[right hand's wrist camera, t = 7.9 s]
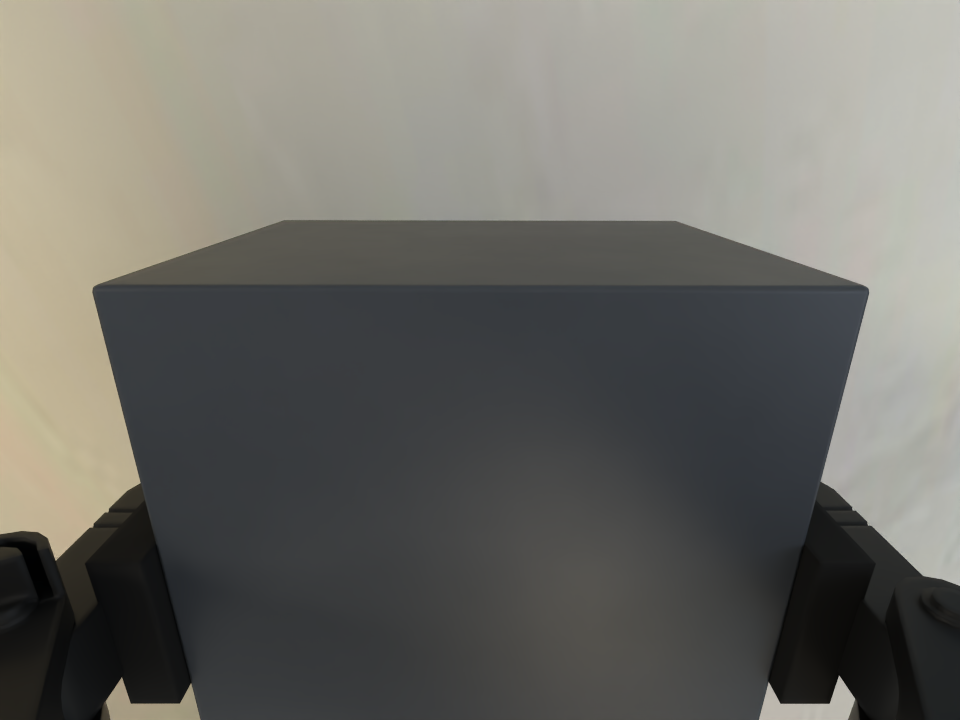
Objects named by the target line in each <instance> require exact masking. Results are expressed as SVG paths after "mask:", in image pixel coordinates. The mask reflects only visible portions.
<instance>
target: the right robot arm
mask: <svg viewBox="0 0 960 720" xmlns="http://www.w3.org/2000/svg"><path fill="white" fill-rule="evenodd" d="M839 676H840V677H841V678H842V680H843V681H844V683H845V684H846V686H847V687H848V689H849V690H850V692H851V693H852V695H853V696H854V698H855V702H854V705H853V708H852V710H851V713H850V716H849V719H848V720H960V586H958V585H956V584H953V583H950V582H947V581H945V580H942V579H936V578H930V577H925V576H922V575H921V574H920V573H919V572H918V571H917V570H916V569H915V568H914V567H913V566H912V565H911V564H910V563H909V562H908V561H907V560H906V559H905V558H904V557H903V556H902V555H901V554H900V553H899V552H898V551H897V550H896V549H895V548H894V547H893V546H892V545H890V544H889V543H888V542H887V541H886V540H885V539H884V538H883V537H882V536H881V535H880V534H879V533H878V532H877V531H876V530H875V529H874V528H873V527H872V526H868V524H867V521H866V520H865V519H864V518H863V517H862V516H861V515H860V514H859V513H858V512H857V511H853V510H852V507H851V506H850V505H849V504H848V503H847V502H846V501H845V500H844V499H843V498H842V497H841V496H840V495H839V494H838V493H837V492H836V491H835V490H834V489H832V488H830V487H829V486H827V485H825V484H824V483H822V482H820V485H819V489H818V493H817V496H816V500H815V504H814V508H813V512H812V516H811V520H810V524H809V527H808V531H807V535H806V539H805V543H804V547H803V551H802V554H801V558H800V562H799V566H798V570H797V574H796V578H795V582H794V585H793V589H792V593H791V597H790V601H789V605H788V609H787V612H786V616H785V620H784V624H783V628H782V632H781V636H780V640H779V643H778V647H777V651H776V655H775V659H774V663H773V667H772V670H771V674H770V678H769V683H770V685H771V687H772V689H773V690H774V692H775V694H776V696H777V698H778V700H779V702H780V703H781V704H830V701H831V698H832V695H833V692H834V689H835V686H836V683H837V680H838V677H839ZM121 677H122V678H123V681H124V684H125V687H126V690H127V693H128V696H129V699H130V702H131V704H133V703H180V702H181V700H182V698H183V697H184V695H185V693H186V691H187V689H188V687H189V685H190V684H191V679H190V675H189V671H188V667H187V664H186V660H185V656H184V652H183V648H182V644H181V640H180V636H179V632H178V628H177V624H176V620H175V616H174V612H173V608H172V604H171V600H170V596H169V592H168V588H167V584H166V581H165V577H164V573H163V569H162V565H161V561H160V557H159V553H158V549H157V545H156V541H155V537H154V533H153V529H152V525H151V521H150V517H149V513H148V509H147V505H146V502H145V498H144V494H143V490H142V486H141V483H140V484H138V485H137V486H135V487H133V488H132V489H130V490H128V491H127V492H126V493H125V494H124V495H123V496H122V497H121V498H120V499H119V500H118V501H117V502H116V503H115V504H113V505H112V506H111V507H110V508H109V512H108V513H104V514H103V515H102V516H101V517H100V518H99V519H98V520H97V521H96V522H95V523H94V526H93V528H89V529H88V530H87V531H86V532H85V533H84V534H83V535H82V536H81V537H80V538H79V539H78V540H77V541H76V542H75V543H74V544H73V545H72V546H71V547H70V548H69V549H68V550H67V551H65V552H64V553H63V554H62V555H61V556H60V557H59V558H58V559H57V560H56V561H55V558H54V555H53V552H52V549H51V547H50V544H49V541H48V538H46V537H45V536H43V535H41V534H40V533H38V532H26V531H19V532H13V533H7V534H0V720H110V716H109V710H108V708H107V705H106V702H105V701H106V700H107V698H108V697H109V695H110V694H111V692H112V691H113V689H114V688H115V686H116V685H117V683H118V682H119V680H120V679H121Z"/></svg>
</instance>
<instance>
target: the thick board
mask: <svg viewBox="0 0 960 720" xmlns="http://www.w3.org/2000/svg"><path fill="white" fill-rule="evenodd" d="M868 295H869V289H868V288H867V287H866V286H863V285H861V284H858V283H855V282H852V281H849V280H846V279H843V278H840V277H837V276H834V275H832V274H829V273H826V272H823V271H820V270H817V269H814V268H811V267H808V266H805V265H802V264H799V263H796V262H794V261H791V260H788V259H785V258H782V257H779V256H776V255H773V254H770V253H767V252H764V251H761V250H758V249H756V248H753V247H750V246H747V245H744V244H741V243H738V242H735V241H732V240H729V239H726V238H723V237H721V236H718V235H715V234H712V233H709V232H706V231H703V230H700V229H697V228H694V227H691V226H688V225H685V224H683V223H680V222H677V221H358V220H284V221H281V222H278V223H275V224H272V225H269V226H266V227H263V228H260V229H258V230H255V231H252V232H249V233H246V234H243V235H240V236H237V237H234V238H231V239H229V240H226V241H223V242H220V243H217V244H214V245H211V246H208V247H205V248H202V249H199V250H197V251H194V252H191V253H188V254H185V255H182V256H179V257H176V258H173V259H170V260H168V261H165V262H162V263H159V264H156V265H153V266H150V267H147V268H144V269H141V270H139V271H136V272H133V273H130V274H127V275H124V276H121V277H118V278H115V279H112V280H109V281H107V282H104V283H101V284H98V285H96V286H94V287H93V296H94V300H95V304H96V308H97V312H98V316H99V320H100V324H101V328H102V332H103V336H104V340H105V344H106V347H107V351H108V355H109V359H110V363H111V367H112V371H113V375H114V379H115V383H116V387H117V391H118V395H119V399H120V403H121V407H122V411H123V415H124V419H125V423H126V426H127V430H128V434H129V438H130V442H131V446H132V450H133V454H134V458H135V462H136V466H137V470H138V474H139V478H140V482H141V486H142V490H143V494H144V498H145V502H146V505H147V509H148V513H149V517H150V521H151V525H152V529H153V533H154V537H155V541H156V545H157V549H158V553H159V557H160V561H161V565H162V569H163V573H164V577H165V581H166V584H167V588H168V592H169V596H170V600H171V604H172V608H173V612H174V616H175V620H176V624H177V628H178V632H179V636H180V640H181V644H182V648H183V652H184V656H185V660H186V664H187V667H188V671H189V675H190V679H191V683H192V687H193V691H194V695H195V699H196V703H197V707H198V711H199V715H200V719H201V720H759V717H760V713H761V709H762V705H763V701H764V697H765V694H766V690H767V686H768V682H769V678H770V674H771V670H772V667H773V663H774V659H775V655H776V651H777V647H778V643H779V640H780V636H781V632H782V628H783V624H784V620H785V616H786V612H787V609H788V605H789V601H790V597H791V593H792V589H793V585H794V582H795V578H796V574H797V570H798V566H799V562H800V558H801V554H802V551H803V547H804V543H805V539H806V535H807V531H808V527H809V524H810V520H811V516H812V512H813V508H814V504H815V500H816V496H817V493H818V489H819V485H820V481H821V477H822V473H823V469H824V466H825V462H826V458H827V454H828V450H829V446H830V442H831V438H832V435H833V431H834V427H835V423H836V419H837V415H838V411H839V408H840V404H841V400H842V396H843V392H844V388H845V384H846V380H847V377H848V373H849V369H850V365H851V361H852V357H853V353H854V350H855V346H856V342H857V338H858V334H859V330H860V326H861V322H862V319H863V315H864V311H865V307H866V303H867V299H868Z"/></svg>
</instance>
